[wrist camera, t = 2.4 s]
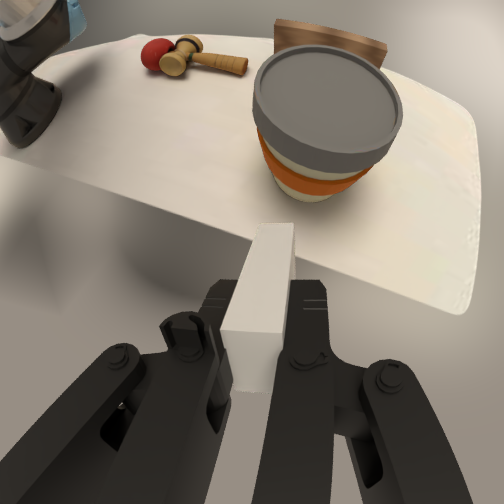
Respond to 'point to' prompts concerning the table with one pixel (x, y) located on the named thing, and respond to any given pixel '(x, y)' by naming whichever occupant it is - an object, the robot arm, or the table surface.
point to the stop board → (327, 40)
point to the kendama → (186, 56)
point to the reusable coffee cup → (323, 118)
